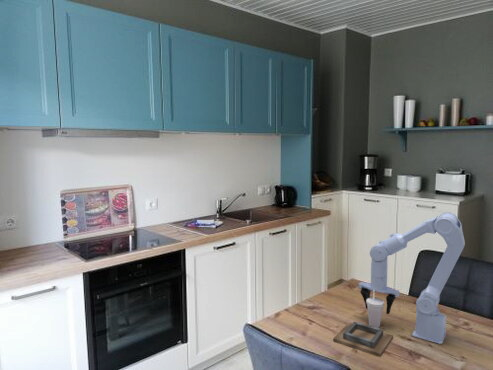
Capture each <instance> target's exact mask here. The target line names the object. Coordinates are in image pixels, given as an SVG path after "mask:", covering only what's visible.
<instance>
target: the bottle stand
mask: <svg viewBox="0 0 493 370" xmlns="http://www.w3.org/2000/svg"><path fill="white" fill-rule="evenodd" d="M393 339H394V335H393V334H389V333H386V332H384V329H382V328H380V327H379V328H376V327H372V326H369V324H364V323H361V322H357V321H355V320H354V321H353V322H348V323H346V324H345V326H344V327H343V328H342V329H341V330H340V331H338V333H337V334H336V335H335V336H334V337H333V339H332V340H333V342H334V343H337V344H340V345H344V346H347V347H350V348H353V349H356V350H359V351H362V352H365V353H368V354H371V355H374V356H378V357H380V358H381V356H382V355H383V354H384V352H385V351H386V349H387V348H388V347H389V345H390V343H391V342H392V340H393Z"/></svg>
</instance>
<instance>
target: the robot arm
mask: <svg viewBox="0 0 493 370" xmlns="http://www.w3.org/2000/svg"><path fill="white" fill-rule="evenodd" d="M462 225H463V224H462V222H461V221H460V219H459V218H458V217H457V215H456V214H454V213H452V212H443V213H441V214H440V215H436V216H433V217H432V218H429V219H427V220H425V221H423V222H421V223H420V224H418V225H416V226H415V227H413V228H411V229H410V230H408V231H406V232H405V233H400V232H399V233H398V232H397V233H391V234H389V237H388V238H386V239H384V240H379V242H378V243H376V244H375V245H374V246H372V247H371V248H370V251H369V256H370V258H371V263H370V264H371V265H370V266H371V267H370V282H362V281H360V282H359V283H358V289H360V290H359V292H360V294H361V296H362V298H363V301H364V304H365V305H364V306H365V309H367V310H368V308H367V303H366V300H367V299H368V298H371V291H372V292H373V289H375V292H377V293H381V294H384V295H387V296H386V297H385V299H386V312H385V314H386V315H390V313H391V310H392V306H393V303H394V302H395V299H396V298H399V297H400V290H399V289H395V288H392V287H390V286H388V284H387V283H388V257H389V256H392V255H394V254H396V253H398V252H400V251H402V250H403V249H406V248H407V246H408V243H409V242H411V241H412V240H415V239H417V238H420V237H421V236H423V235H426V234H427V233H428V234H433V235H436V233H437V234H439V236H441V237H442V238H443V240H444V242H445V244H446V245H447V246H446V248H445V250H444V252H443V254H442V256H441V258H440V260H439V262H438V264H437V266H436V268H435V271H434V272H433V274H432V277H431V279H429V282H428V285H427V287H426V288H425V289H423V290H421V292H420V295H419V297H418V298H417V299H416V301H415V306H416V313H415V314H416V315H415V329H414V330H413V332H412V334H411V336H412V337H414V338H417V339H422V340H425V341H429V342H431V343H436V344H439V345H443V343H444V341H445V338H446V335H447V315H445V314H443V313H441V312H440V310H439V307H438V305H439V304H440V301H441V293H442V291H443V289H444V287H445V285H446V284H447V282H448V280H449V278H450V276H451V273H452V271H453V269H454V267H456V263H457V261H458V260H459V258H460V255H461V254H462V252H463V250H464V248H465V245H466V242H465V237H464V231H463V227H462Z"/></svg>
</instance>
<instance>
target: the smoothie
mask: <svg viewBox="0 0 493 370" xmlns="http://www.w3.org/2000/svg"><path fill="white" fill-rule="evenodd" d="M375 292H376V291H375V289H373V291H372V297H370V298H368V299H367V300H366V303H367V308H368V309H367V316H368V317H367V318H368V325H369V326H372V327H376V328H379V329H380V327H381V321H382V315H383V309H384V307H385V301H384V300H383V299H381V298H380V297H379V298H377V297H375V295H376V293H375Z"/></svg>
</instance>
